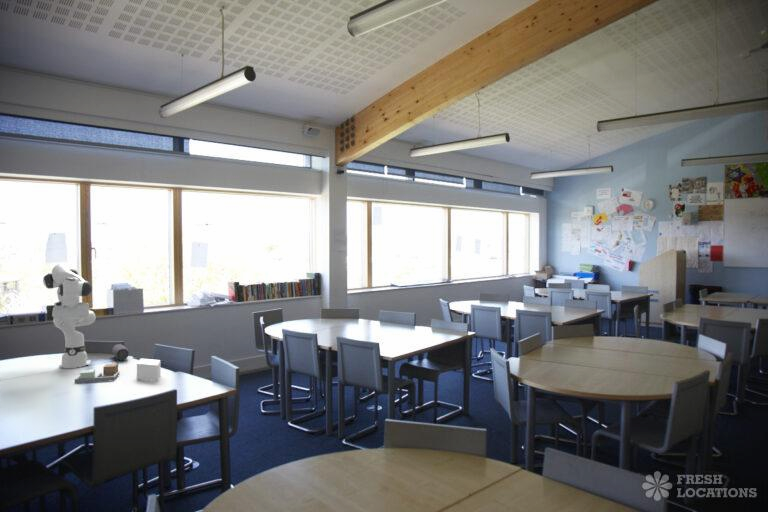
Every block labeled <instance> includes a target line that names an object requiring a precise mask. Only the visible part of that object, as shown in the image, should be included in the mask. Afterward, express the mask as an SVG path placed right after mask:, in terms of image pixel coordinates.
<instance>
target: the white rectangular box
mask: <svg viewBox="0 0 768 512" xmlns="http://www.w3.org/2000/svg"><path fill="white" fill-rule="evenodd" d="M159 376H160V377H161V360H160V359H152V358H151V359H150V358H143V357H142V358H140V359H139V360H138V362H137V363H136V380H137V379H141V380H140V381H146V380H152V381H151V382H156V381H158V382H159V380H158V379H160V377H159Z"/></svg>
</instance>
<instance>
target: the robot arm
mask: <svg viewBox="0 0 768 512" xmlns="http://www.w3.org/2000/svg"><path fill="white" fill-rule="evenodd" d="M42 283H43V285H44V287H45V288H46V289H48V290H51V289H57V291H56V293H57V299H58V301H56V302H54V303H53V308H52V313H51V316H52V318H53V319H52V321H53V325H54V326H55V327H56V328H57V329H59V330H61V332H62V333H63V335H64V340H65V341H64V342H65V347H64V349H63V350H64V353H63V354H62V356H61V364H60V365H59V366H58V367H59V368H62V367H63V368H62V369H76V368H77V367H78V368H83V367H87V366H86V365H88V366H91V363H92V362H91V361H92V360H91V359H89V358H88V354H87V352H86V344H85V335H84V334H83V332H80V331H79V330H76V327H83V326H89V325H93V324H94V322H95V321H96V319H97V318H96V317H97V316H96V314H95V312H94V311H92V310H90V307H91V306H90V303H89V302H87V301H86V302H85V301H84V302H83V301H82V302H80V297H88V296H90V294H91V293H92V292H93V291H92V290H93V287H92V285H91V283H90V282H89V281H88V280H85V279H84V278H83V277H82V276H81V275H80V273H79V271H78V270H77V269H76V268H68V266H67V265H64V264H56V265H55V266H54V267H53V268H52V269H51V273H47V274H46V275H44V276H43V279H42ZM90 362H91V363H90ZM82 366H83V367H82Z"/></svg>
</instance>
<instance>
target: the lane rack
mask: <svg viewBox="0 0 768 512" xmlns="http://www.w3.org/2000/svg"><path fill="white" fill-rule="evenodd" d="M118 375H119V376H120V371H118V372H117V373H116V374H115V375H110V376H103V373H102V372H99V373H98V374H97V375H95V378H81V379H80V375H79V376H78V377H76V378H75V379H74V384H84V383H83V382H87V383H97V382H98V381H102V382H110V381H109V380H116V379H118V378H119V376H118ZM98 383H99V382H98Z"/></svg>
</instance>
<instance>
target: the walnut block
mask: <svg viewBox="0 0 768 512" xmlns="http://www.w3.org/2000/svg"><path fill="white" fill-rule="evenodd" d="M102 370H103V371H102V372H103V373H102V376H103V375H110V376H114V374H116V373H117V372H119V363H117V362H115V361H114V362H112V363H106V364H105V365H104V366H103V369H102Z"/></svg>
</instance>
